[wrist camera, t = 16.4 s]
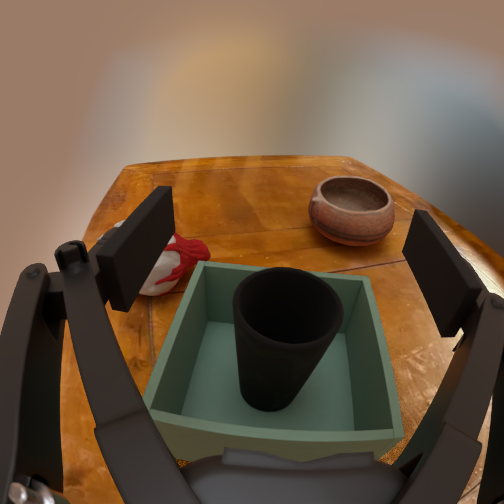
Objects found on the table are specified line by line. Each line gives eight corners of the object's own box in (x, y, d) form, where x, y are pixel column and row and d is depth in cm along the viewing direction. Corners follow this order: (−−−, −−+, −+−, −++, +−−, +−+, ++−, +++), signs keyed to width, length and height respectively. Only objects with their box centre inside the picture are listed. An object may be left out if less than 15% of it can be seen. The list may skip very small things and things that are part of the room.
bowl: (290, 238, 53) (296, 184, 47) (325, 209, 64) (332, 165, 58) (374, 271, 45) (390, 215, 40) (394, 233, 56) (406, 188, 51)
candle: (101, 270, 42) (191, 256, 49) (110, 319, 34) (219, 298, 41) (95, 216, 38) (194, 205, 45) (100, 257, 30) (225, 240, 37)
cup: (283, 435, 23) (318, 368, 16) (212, 395, 26) (208, 311, 19) (319, 376, 29) (357, 292, 21) (255, 344, 31) (268, 254, 24)
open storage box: (163, 455, 21) (135, 415, 16) (203, 321, 36) (198, 260, 31) (361, 473, 20) (405, 437, 15) (348, 334, 35) (368, 276, 30)
